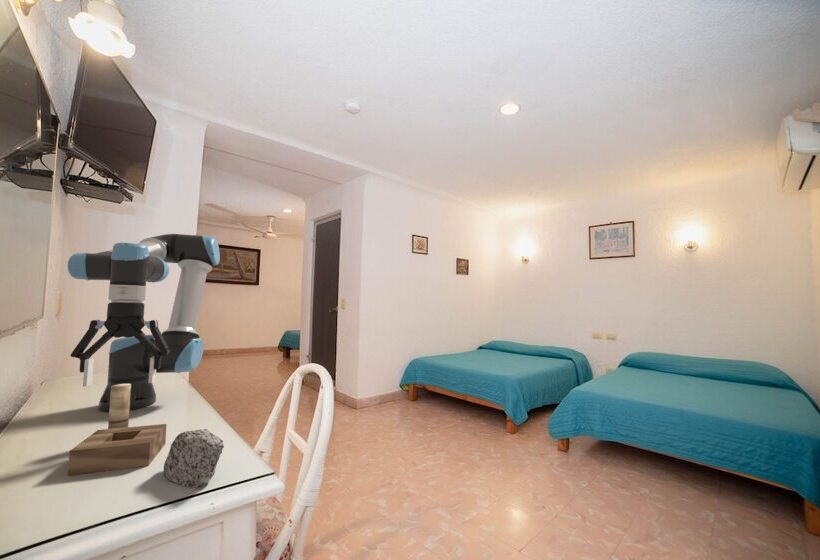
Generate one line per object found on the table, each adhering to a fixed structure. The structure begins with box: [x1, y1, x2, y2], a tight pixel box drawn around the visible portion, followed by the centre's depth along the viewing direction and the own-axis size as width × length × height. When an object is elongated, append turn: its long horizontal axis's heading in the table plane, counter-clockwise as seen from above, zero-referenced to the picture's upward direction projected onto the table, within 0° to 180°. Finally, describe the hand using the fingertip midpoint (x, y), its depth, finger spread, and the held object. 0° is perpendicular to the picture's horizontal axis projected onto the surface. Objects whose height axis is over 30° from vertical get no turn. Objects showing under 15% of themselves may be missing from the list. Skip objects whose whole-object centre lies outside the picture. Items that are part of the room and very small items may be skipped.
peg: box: [107, 384, 131, 429], centre depth 89 cm, size 4×4×14 cm
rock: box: [163, 428, 225, 490], centre depth 72 cm, size 16×8×10 cm, turn 47°
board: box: [67, 423, 168, 476], centre depth 80 cm, size 12×14×5 cm
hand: (120, 383), depth 89 cm, fingers open, 13 cm apart
